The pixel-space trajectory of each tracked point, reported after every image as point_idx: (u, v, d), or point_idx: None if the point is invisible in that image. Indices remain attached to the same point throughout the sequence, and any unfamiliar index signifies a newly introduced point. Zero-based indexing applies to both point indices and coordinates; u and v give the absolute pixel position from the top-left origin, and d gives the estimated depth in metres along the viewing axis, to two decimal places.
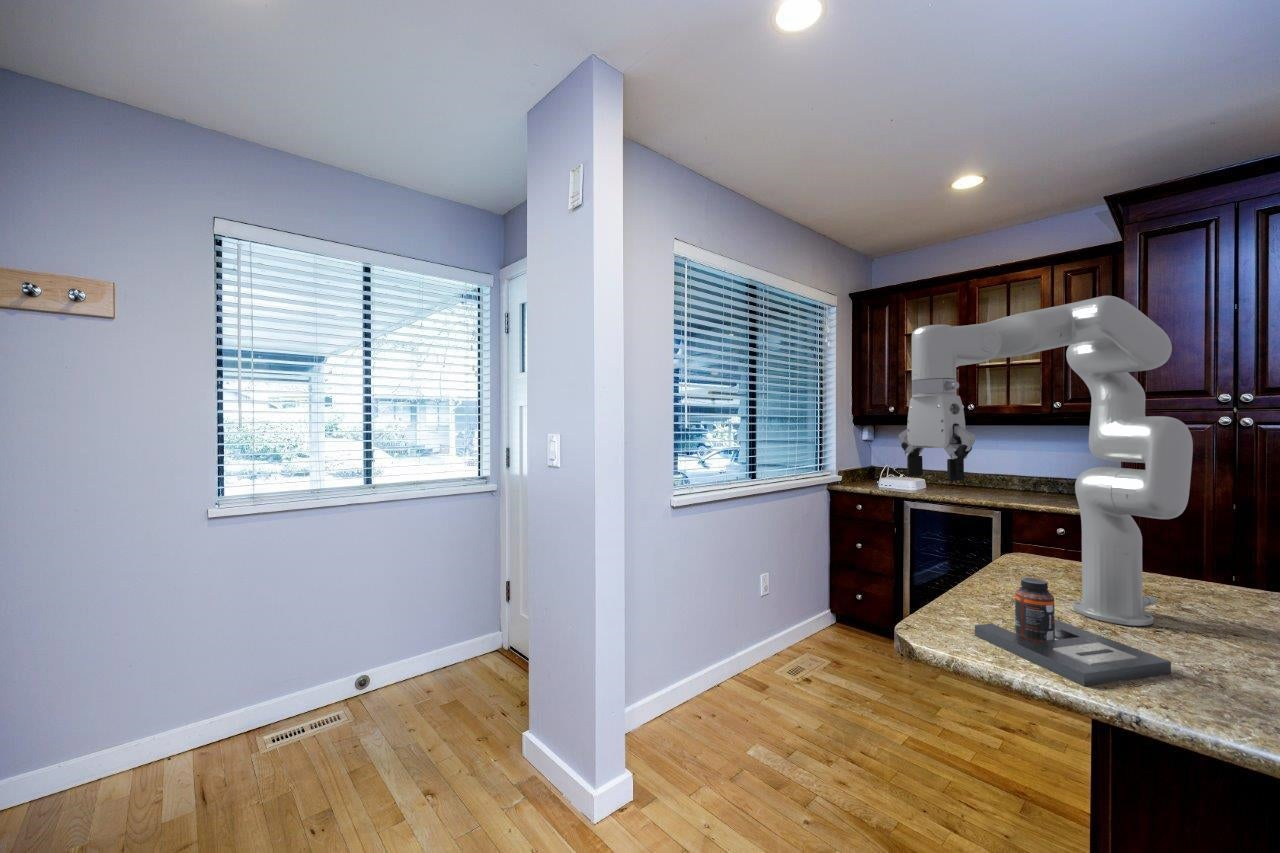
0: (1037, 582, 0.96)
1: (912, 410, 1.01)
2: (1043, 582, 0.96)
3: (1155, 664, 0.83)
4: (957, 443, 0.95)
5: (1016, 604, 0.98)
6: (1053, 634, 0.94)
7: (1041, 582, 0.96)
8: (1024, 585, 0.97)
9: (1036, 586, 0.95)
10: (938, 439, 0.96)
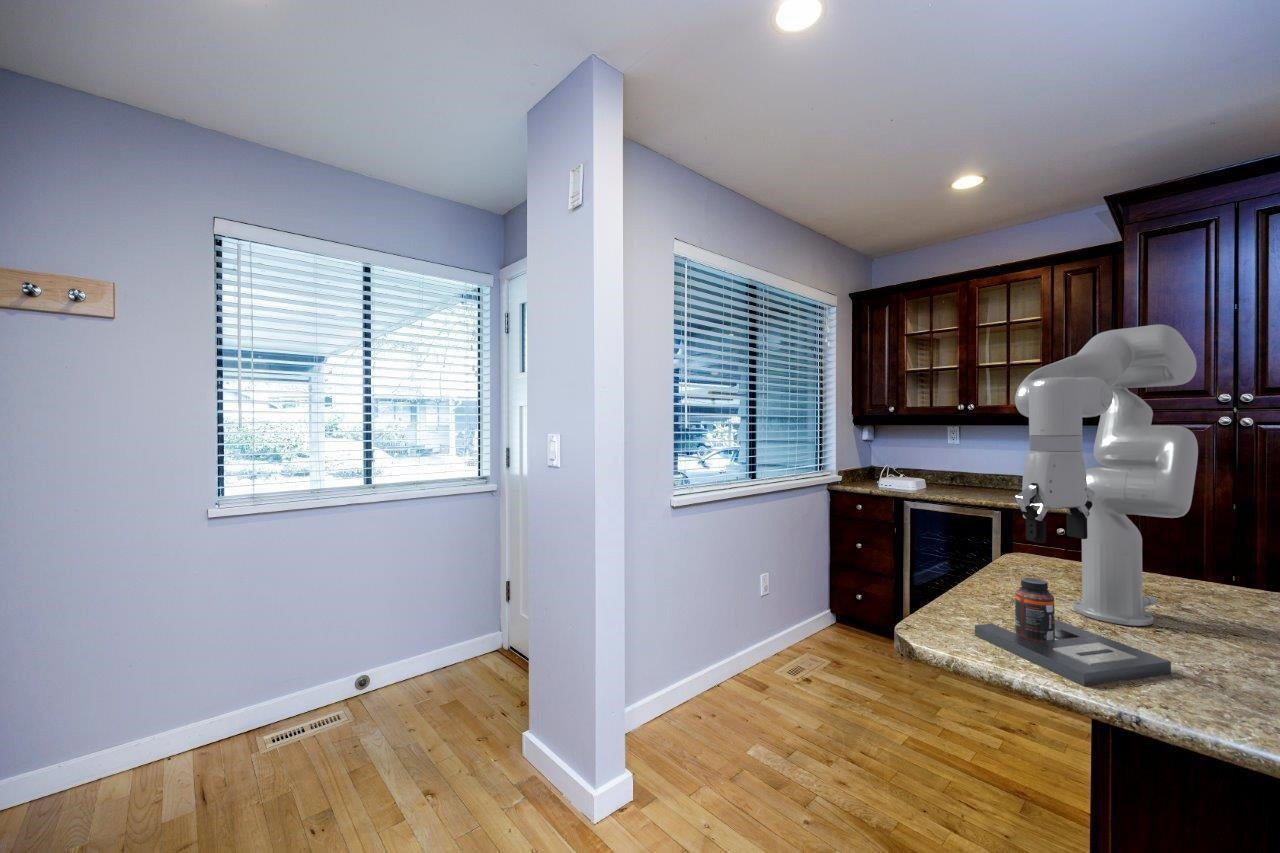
0: (1037, 582, 0.96)
1: (1056, 468, 0.90)
2: (1043, 582, 0.96)
3: (1155, 664, 0.83)
4: None
5: (1016, 604, 0.98)
6: (1053, 634, 0.94)
7: (1041, 582, 0.96)
8: (1024, 585, 0.97)
9: (1036, 586, 0.95)
10: (1082, 498, 0.92)
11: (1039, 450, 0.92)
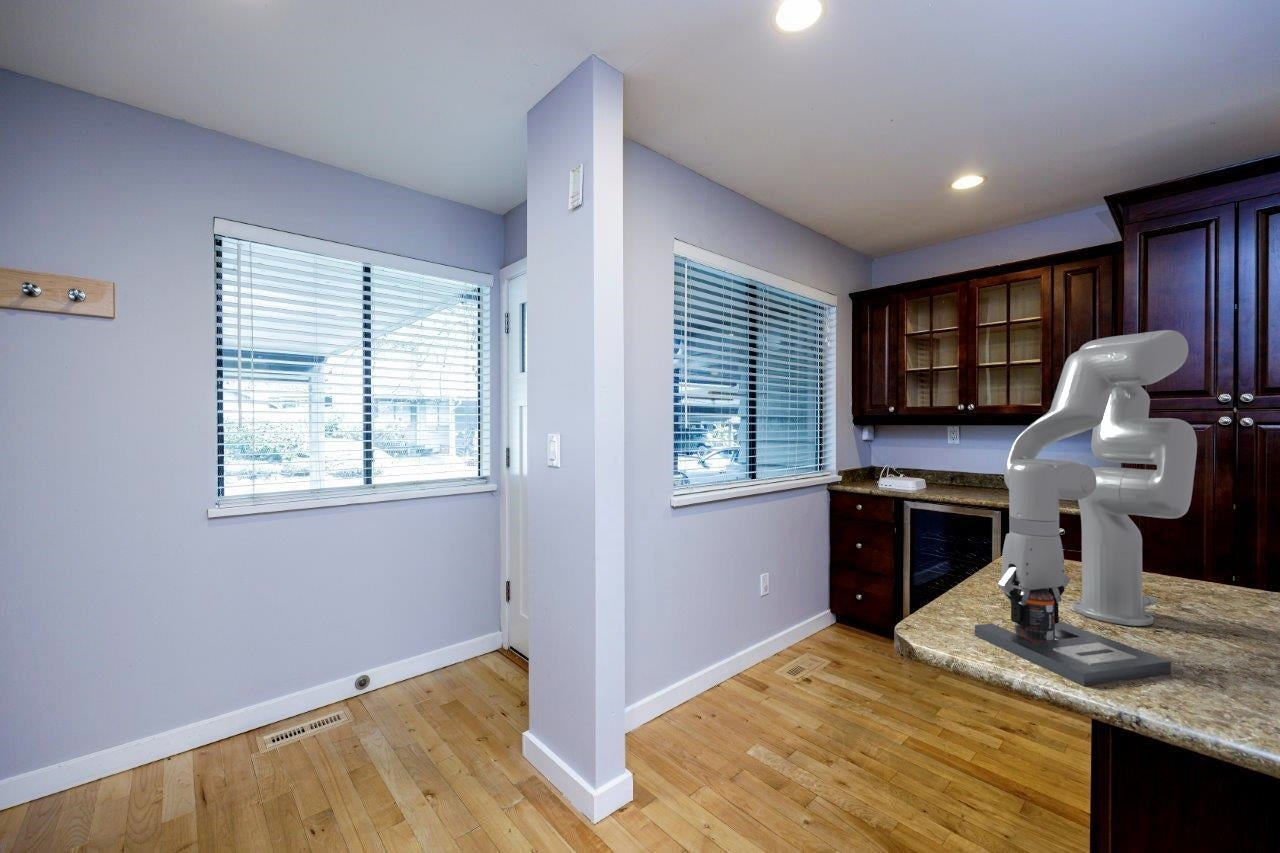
0: None
1: (1033, 551, 0.94)
2: None
3: (1155, 664, 0.83)
4: None
5: None
6: (1053, 633, 0.94)
7: None
8: None
9: None
10: (1059, 580, 0.95)
11: (1017, 532, 0.96)
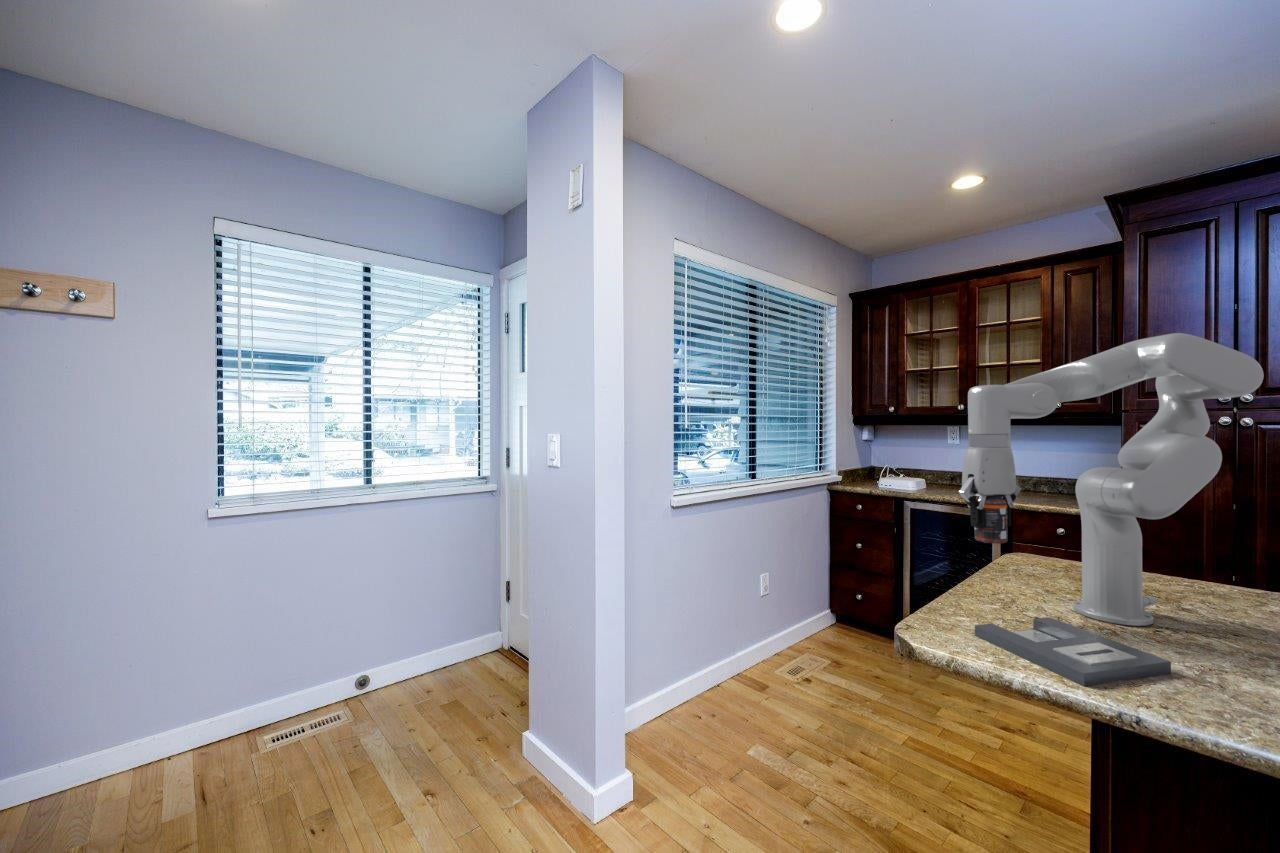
0: None
1: (988, 461, 1.07)
2: None
3: (1155, 664, 0.83)
4: None
5: None
6: (1006, 533, 1.08)
7: None
8: None
9: None
10: (1011, 487, 1.09)
11: (975, 446, 1.09)
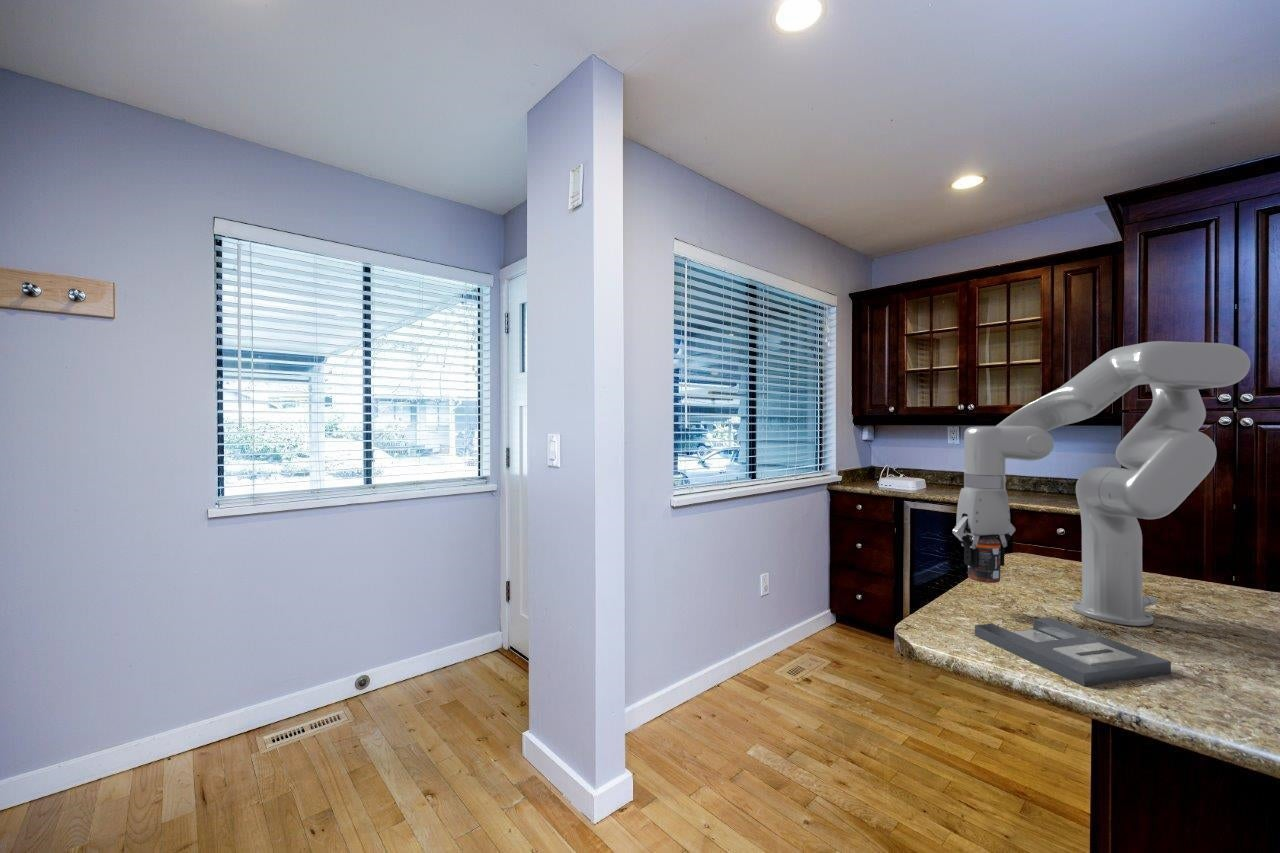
0: None
1: (982, 502, 1.09)
2: None
3: (1155, 664, 0.83)
4: None
5: None
6: (999, 573, 1.10)
7: None
8: None
9: None
10: (1005, 527, 1.11)
11: (970, 486, 1.11)
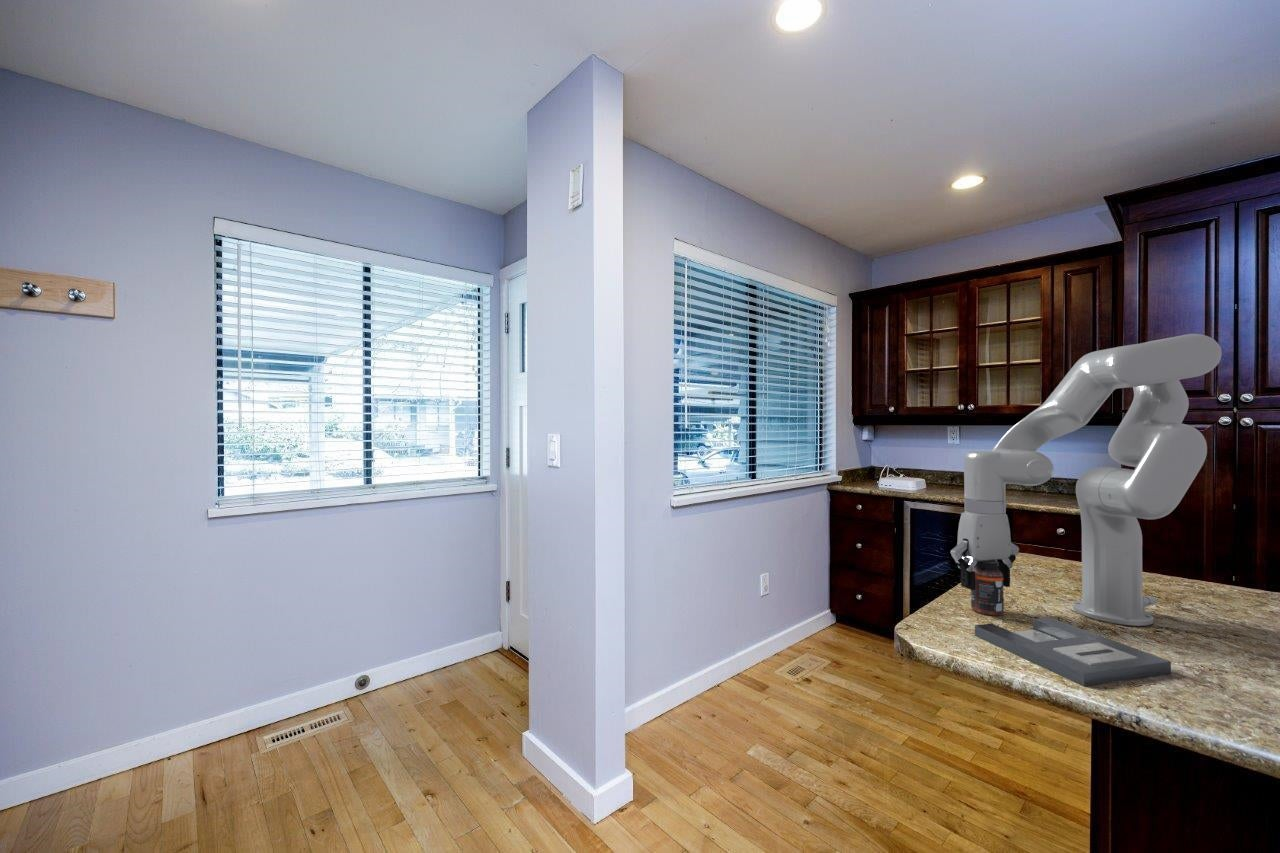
0: (989, 561, 1.11)
1: (983, 527, 1.09)
2: (994, 561, 1.11)
3: (1155, 664, 0.83)
4: None
5: None
6: (1002, 606, 1.09)
7: (992, 561, 1.11)
8: (978, 564, 1.12)
9: (988, 565, 1.10)
10: (1005, 552, 1.11)
11: (970, 511, 1.11)
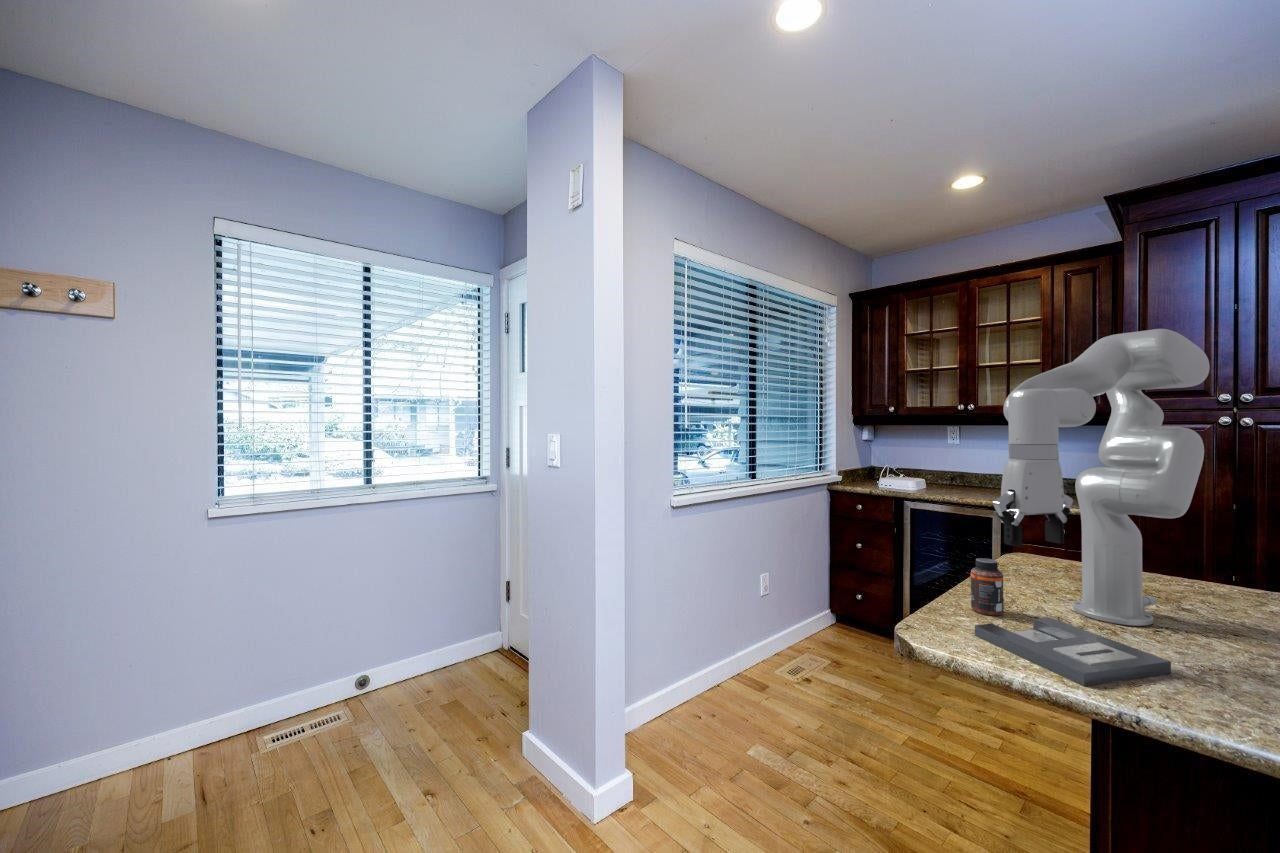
0: (988, 561, 1.11)
1: (1032, 476, 0.94)
2: (994, 561, 1.11)
3: (1155, 664, 0.83)
4: None
5: (971, 581, 1.13)
6: (1002, 606, 1.09)
7: (992, 561, 1.11)
8: (978, 564, 1.12)
9: (988, 565, 1.10)
10: (1058, 505, 0.96)
11: (1017, 458, 0.96)
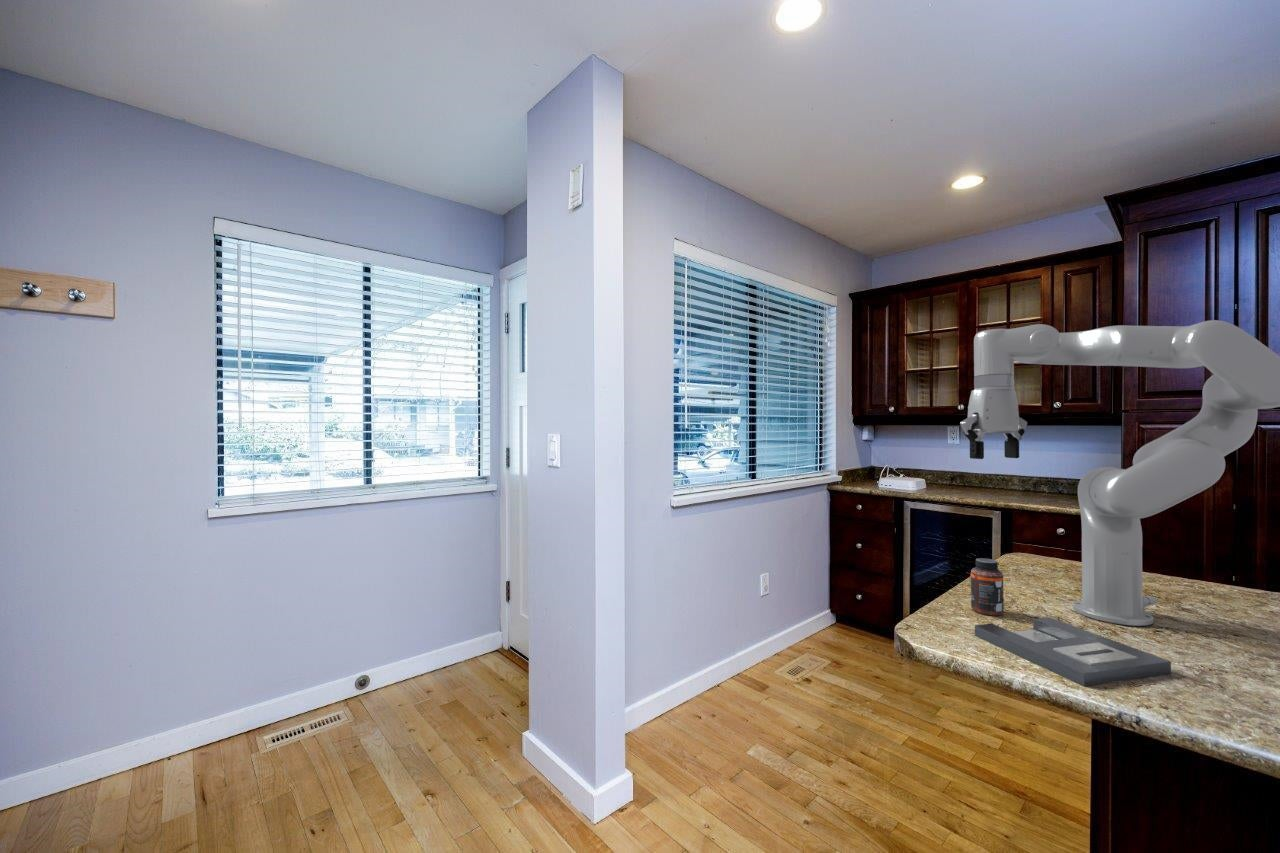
0: (988, 561, 1.11)
1: (992, 400, 1.15)
2: (994, 561, 1.11)
3: (1155, 664, 0.83)
4: None
5: (971, 581, 1.13)
6: (1002, 606, 1.09)
7: (992, 561, 1.11)
8: (978, 564, 1.12)
9: (988, 565, 1.10)
10: (1014, 425, 1.16)
11: (980, 387, 1.17)
